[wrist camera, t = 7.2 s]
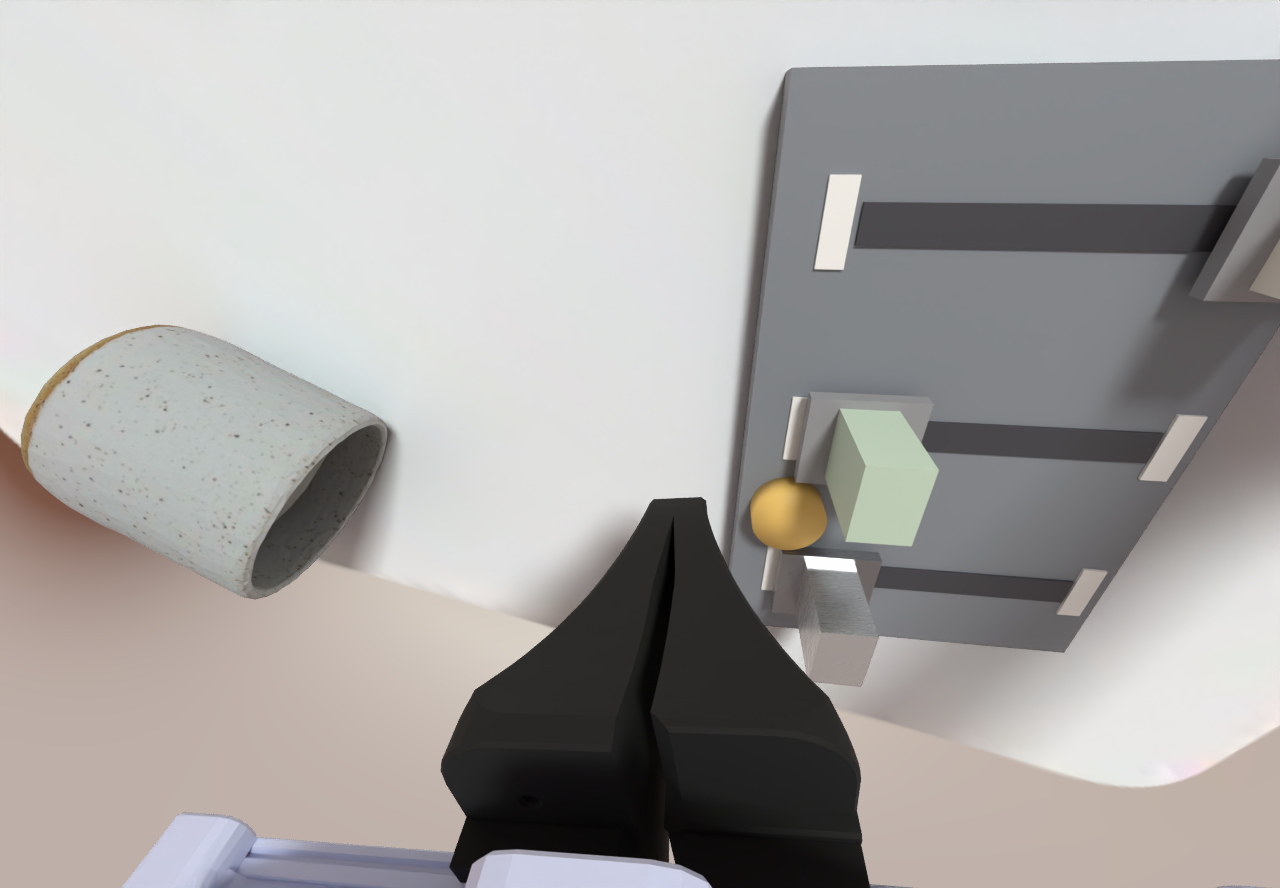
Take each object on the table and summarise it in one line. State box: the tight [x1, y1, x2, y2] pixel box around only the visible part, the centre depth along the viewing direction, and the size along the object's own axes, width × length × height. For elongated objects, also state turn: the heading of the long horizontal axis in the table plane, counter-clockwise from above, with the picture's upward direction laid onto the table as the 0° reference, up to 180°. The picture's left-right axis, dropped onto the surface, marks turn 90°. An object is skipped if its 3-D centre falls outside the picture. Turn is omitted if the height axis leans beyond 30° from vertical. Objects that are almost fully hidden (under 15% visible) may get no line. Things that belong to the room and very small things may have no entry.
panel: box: [728, 59, 1280, 653], centre depth 17 cm, size 14×20×2 cm
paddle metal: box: [770, 547, 882, 687], centre depth 19 cm, size 4×3×4 cm
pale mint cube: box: [794, 392, 939, 546], centre depth 16 cm, size 4×3×4 cm
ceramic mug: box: [21, 325, 387, 599], centre depth 19 cm, size 10×8×7 cm
